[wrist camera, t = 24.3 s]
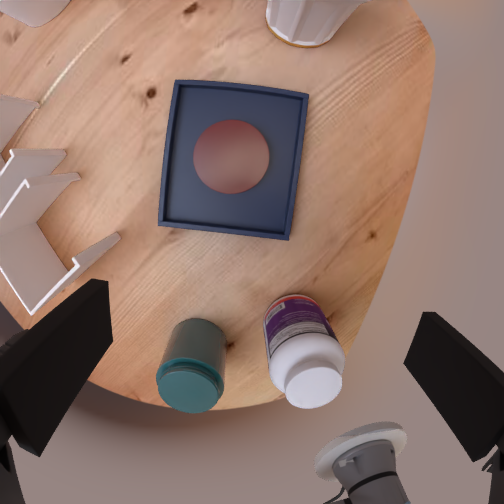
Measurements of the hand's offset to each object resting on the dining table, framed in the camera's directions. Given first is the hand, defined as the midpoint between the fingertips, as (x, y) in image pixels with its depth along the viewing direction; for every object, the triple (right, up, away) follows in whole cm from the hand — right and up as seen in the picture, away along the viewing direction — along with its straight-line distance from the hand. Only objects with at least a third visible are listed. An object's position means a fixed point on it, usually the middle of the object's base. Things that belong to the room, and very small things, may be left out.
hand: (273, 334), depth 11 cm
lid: (-3, +13, +20) cm, 24 cm away
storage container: (-29, +12, +22) cm, 38 cm away
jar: (-8, -10, +28) cm, 31 cm away
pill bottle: (+5, -6, +28) cm, 29 cm away
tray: (-3, +14, +22) cm, 26 cm away
